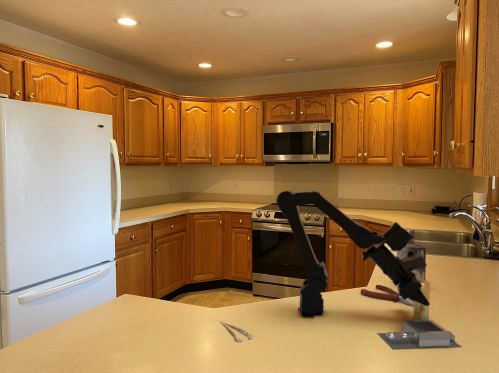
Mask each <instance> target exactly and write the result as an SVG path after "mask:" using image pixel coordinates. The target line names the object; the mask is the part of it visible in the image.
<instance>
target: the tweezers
mask: <svg viewBox="0 0 499 373" xmlns="http://www.w3.org/2000/svg"><path fill="white" fill-rule="evenodd" d="M218 321H219V323H220V324H221V325H223V327H225V329H226V330H227V331H228V332H229V333H230V334H231V335H232V336H233V338H234V339H235V341H236V342H238V343H241V342H243V339H240V338H239V337H237V334H236V333H235V332H234V331H233V330H235V331H236V332H238V333H240V334H241V335H243V336H246V337H247V338H248V340H252V339H253V335H252V334H251V333H249V332H248V331H246V330H244V329H243V328H240V327H237V326H234V325H232V324H229V323H227V322H224V321H222V320H218ZM232 329H233V330H232Z"/></svg>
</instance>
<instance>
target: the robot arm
mask: <svg viewBox="0 0 499 373" xmlns="http://www.w3.org/2000/svg"><path fill="white" fill-rule="evenodd" d="M276 205H277V206H278V208H279V210H280V211H281V213H282V215H283V217H284V218H285V219H286V220H287V222H288V223H289V226H290V229H291V233H292V234H293V237H294V240H295V243H296V245H297V248H298V251H299V254H300V255H301V259H302V261H303V263H304V271H305V277H306V279H305V280H304V281H303V282H302V284H301V288H300V291H299V307H298V308H297V311H299V313H300V315H301V317H302V318H315V317H317V316H319V317H320V316H321V317H323V316H324V307H325V306H324V302H325V300H324V298H323V295H322V292H324V291H325V290H326V288H327V286H328V280H329V272H328V271H327V269H326V265H325V261H322V262H319V260H318V258H317V257H316V255H315V252H314V250H313V247H312V245H311V242H310V238H309V237H308V234H307V231H306V229H305V224H304V223H303V220H302V218H301V213H300V206H305V205H306V206H307V205H314V206H315V207H316V208H317V209H318V210H320V211H321V212H322V213H323V214H324V215H326V216H327V217H328V218H329V219H330V220H331V221H333V222H334V223H335V224H336V225H338V227H340V228H342V229H343V231H344V232H345V233H346V234H347V236H348V237H349V239H350V240H351V241H352V242H353V243H354V244H355V246H357V247H358V248H360V249H364V250H361V254H362V255H361V256H362V257H361V258H362V261H364V262H366V261H367V260H368V259H370V260H371V261H372V262H373V263H374V264H375V265H376V266H377V267H378V268H379V270H381V271H382V273H383V275H385V276H387V277H388V279H390V280H391V282H392V283H393V285H394V286H395V287H396V286H397V293H399V295H400V296H401V297H402V298H403V299H404V300H405V299H407V298H409V299H412V300H414V301H416V302H418V303H421V304H423V305H425V306H428V305H429V306H430V305H431V304H430V301H429V302H428V300H427V299H426V297H425V296H424V294H423V293H422V291H421V290H420V288H421V287H422V284H421V283H420V281H419V280H418V279H417V278H416V275H415V274H414V273H412V272H411V271H412V270H416V269H418V268H421V267H422V268H424V267H426V268H427V266H428V264H427V262H425V260H424V258H423V256H422V254H421V253H418V252H417V253H414V252H413V251H412V250H410V251H407V257H405V258H403V259H400V258H399V257H397V255H395V254H394V253H393V252H395V251H396V252H397V250H398V251H400V250H401V249H403V248H404V247H405V246H406V245H409V244H410V243H411V242H413V240H414V239H415V238H414V237H413V236H412V235H411V234H410V233H409V232H408V230H406V229H405V228H404V227H402V226H401V225H400V224H399V223H398V222H397V221H394V222H393V223H392V224H391V226H390V227H389V228H388V229H386V230H385V231H384V232H383V233H382V232H379V231H378V232H377V231H373V230H371V229H369V228H368V227H367V226H365V225H363V224H361V223H360V222H358V221H356V220H354V219H352V218H350V217H349V216H348V215H347V214H345V212H343V211H342V210H340V209H339V208H338V207H337V206H335V204H333V203H332V202H330V200H328V199H327V198H326V197H325V196H324V195H322V193H321V192H320V191H317V190H312V191H303V192H300V191H299V192H294V191H293V190H290V189H289V190H284V191H282V192H280V193H278V195H277V197H276ZM385 244H386V245H387V246H388V247H389V248H390V249H391V250H392V251H393V252H392V251H391V250H390V249H389V248H388V247H387V246H386V245H385ZM365 249H366V250H365ZM399 283H400V284H399ZM398 284H399V286H398Z"/></svg>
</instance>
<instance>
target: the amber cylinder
mask: <svg viewBox="0 0 499 373" xmlns="http://www.w3.org/2000/svg"><path fill="white" fill-rule="evenodd" d="M419 281H420V283H421V284H422V287H421V288H420V290H421V291H422V293H423V294H424V296H425V297H426V299H427V300H428V302H429V303H430V297H431V296H430V294H431V293H430V292H431V282H430V281H428V280H419ZM413 320H430V305H428V306H425V305H423V304H421V303H418V302H416V301H414V306H413Z"/></svg>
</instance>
